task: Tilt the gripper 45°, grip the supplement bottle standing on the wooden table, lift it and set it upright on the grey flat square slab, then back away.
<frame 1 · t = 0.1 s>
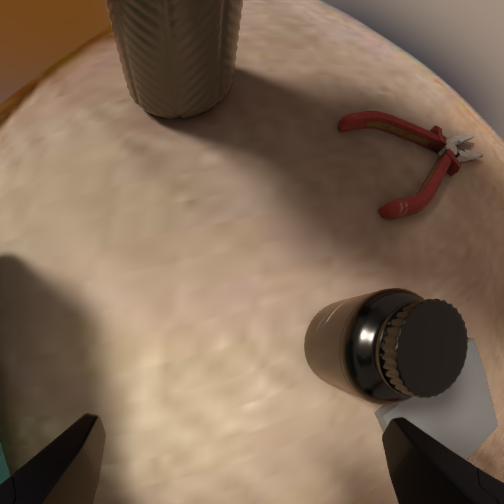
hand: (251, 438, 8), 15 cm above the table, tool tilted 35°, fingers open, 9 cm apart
lamp: (181, 88, 28), on the table
grey flat square slab: (442, 421, 23), on the table
supplement bottle: (341, 343, 24), on the table
pliers: (423, 171, 30), on the table
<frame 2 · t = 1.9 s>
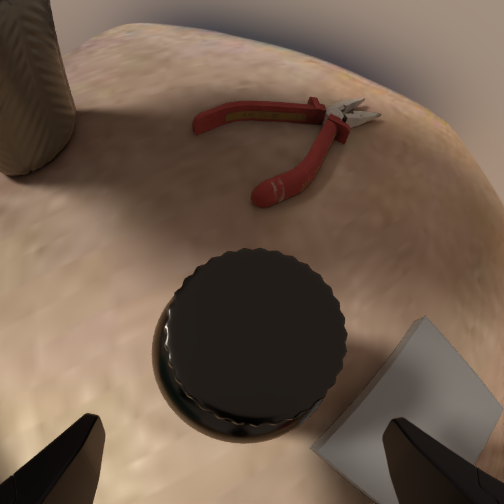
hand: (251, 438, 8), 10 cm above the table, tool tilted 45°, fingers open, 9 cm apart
lamp: (36, 144, 25), on the table
grey flat square slab: (420, 431, 17), on the table
supplement bottle: (231, 371, 18), on the table
pliers: (308, 149, 29), on the table
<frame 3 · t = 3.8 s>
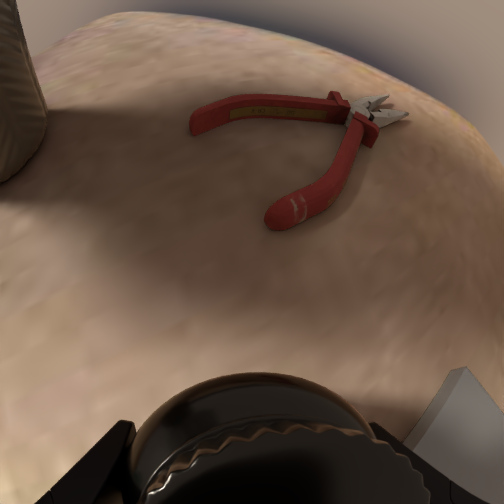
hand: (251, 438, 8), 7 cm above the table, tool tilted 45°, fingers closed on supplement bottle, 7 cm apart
lamp: (4, 151, 20), on the table
grey flat square slab: (447, 491, 12), on the table
supplement bottle: (235, 447, 13), on the table, touching gripper
pliers: (329, 153, 24), on the table
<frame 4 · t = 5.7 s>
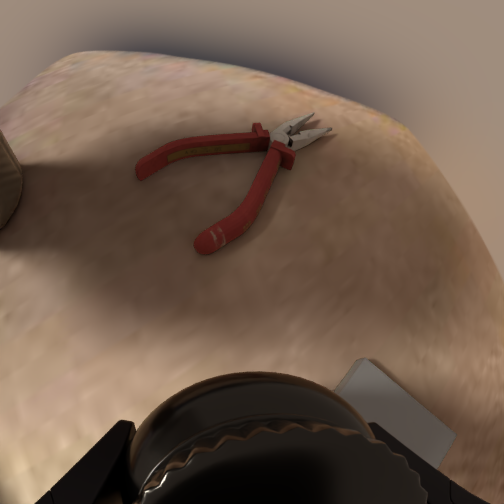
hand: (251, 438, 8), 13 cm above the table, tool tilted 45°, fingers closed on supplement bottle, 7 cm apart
grey flat square slab: (364, 462, 19), on the table
supplement bottle: (235, 446, 13), point 6 cm above the table, touching gripper
pliers: (253, 180, 29), on the table
when the fingers open (9 cm above the table, at t = 7.9 s): supplement bottle drops 1 cm, resting on grey flat square slab.
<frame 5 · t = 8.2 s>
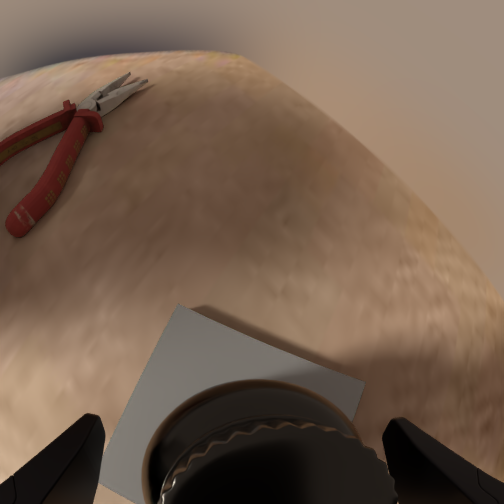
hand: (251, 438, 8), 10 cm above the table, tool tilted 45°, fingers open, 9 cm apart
grey flat square slab: (230, 440, 16), on the table
supplement bottle: (237, 445, 15), point 1 cm above the table, touching grey flat square slab
pliers: (68, 154, 24), on the table
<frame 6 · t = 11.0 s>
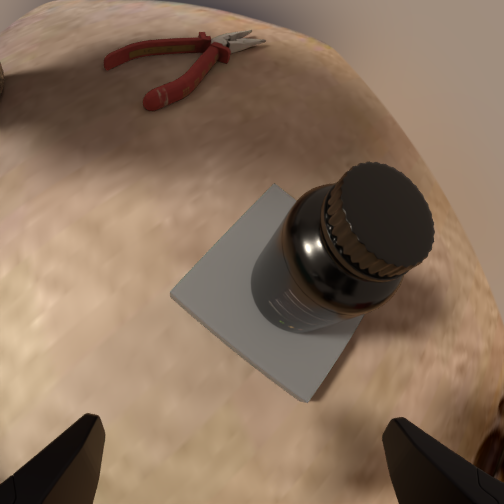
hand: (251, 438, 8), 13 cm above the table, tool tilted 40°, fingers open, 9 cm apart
grey flat square slab: (284, 290, 24), on the table
supplement bottle: (293, 288, 23), point 1 cm above the table, touching grey flat square slab
pliers: (196, 70, 32), on the table
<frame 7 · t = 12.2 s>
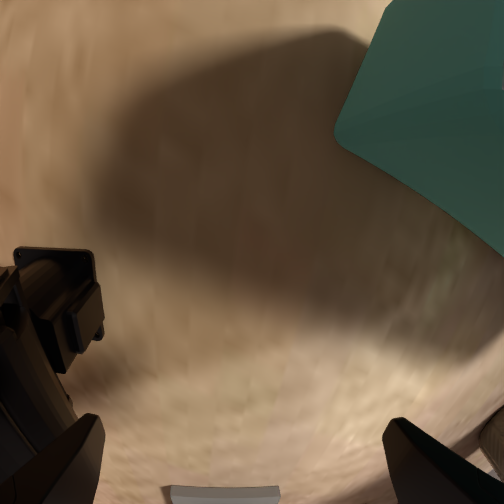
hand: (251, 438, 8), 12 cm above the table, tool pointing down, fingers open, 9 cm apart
lamp: (499, 419, 31), on the table
teal foam block: (497, 185, 19), on the table
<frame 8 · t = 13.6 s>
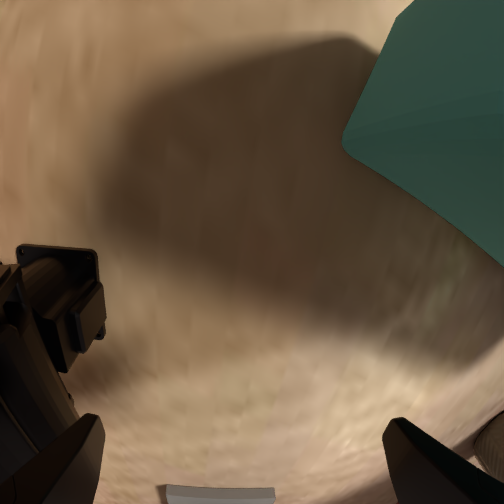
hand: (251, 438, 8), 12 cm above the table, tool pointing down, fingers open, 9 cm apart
lamp: (494, 426, 31), on the table
teal foam block: (500, 196, 19), on the table
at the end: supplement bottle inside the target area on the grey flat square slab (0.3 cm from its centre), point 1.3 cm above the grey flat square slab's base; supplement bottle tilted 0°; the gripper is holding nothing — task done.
